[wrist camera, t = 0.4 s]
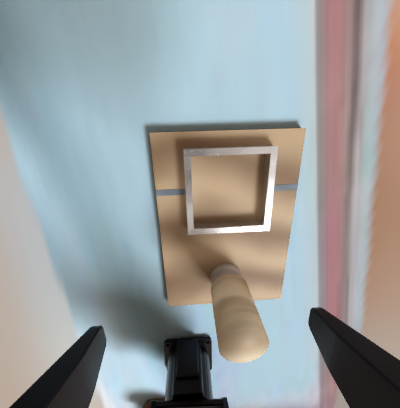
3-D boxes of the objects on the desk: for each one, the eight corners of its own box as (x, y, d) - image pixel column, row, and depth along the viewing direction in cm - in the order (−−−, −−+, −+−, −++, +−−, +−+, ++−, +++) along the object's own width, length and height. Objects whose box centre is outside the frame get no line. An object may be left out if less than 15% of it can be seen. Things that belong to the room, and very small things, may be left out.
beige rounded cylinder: (241, 288, 24) (266, 360, 16) (208, 290, 24) (218, 364, 16) (243, 260, 22) (271, 325, 15) (208, 263, 22) (218, 329, 15)
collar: (264, 225, 21) (269, 230, 20) (188, 229, 21) (188, 234, 20) (272, 145, 18) (278, 146, 17) (183, 148, 18) (183, 149, 17)
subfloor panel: (277, 293, 26) (280, 298, 25) (169, 300, 25) (168, 306, 24) (301, 128, 19) (306, 127, 18) (150, 132, 18) (149, 132, 17)
